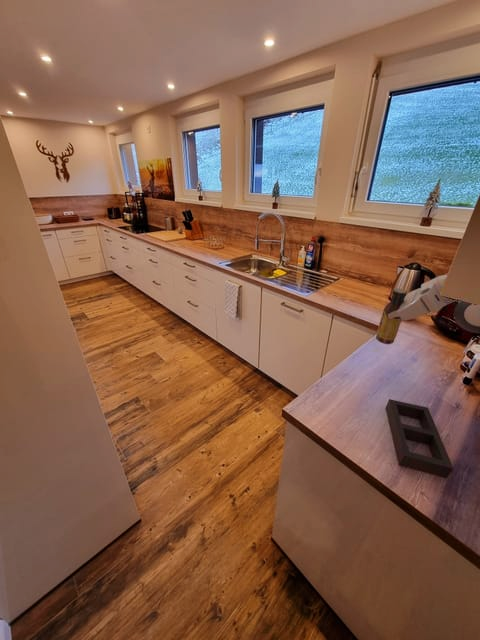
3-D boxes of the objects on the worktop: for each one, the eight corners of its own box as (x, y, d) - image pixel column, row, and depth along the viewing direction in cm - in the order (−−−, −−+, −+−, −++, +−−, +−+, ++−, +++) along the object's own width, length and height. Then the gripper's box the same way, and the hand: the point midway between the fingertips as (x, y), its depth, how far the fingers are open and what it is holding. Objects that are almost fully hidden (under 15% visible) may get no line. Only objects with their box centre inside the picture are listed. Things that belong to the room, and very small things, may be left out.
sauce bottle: (379, 334, 101) (395, 285, 92) (396, 341, 97) (414, 291, 87) (371, 339, 97) (387, 289, 88) (388, 347, 93) (406, 295, 84)
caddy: (423, 416, 80) (428, 407, 78) (446, 478, 64) (453, 468, 62) (385, 408, 83) (389, 398, 81) (398, 465, 66) (404, 455, 64)
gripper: (432, 277, 89) (392, 296, 99) (425, 295, 75) (379, 315, 85) (442, 292, 89) (401, 309, 99) (437, 313, 75) (390, 331, 85)
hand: (391, 312), depth 92 cm, fingers closed on sauce bottle, 6 cm apart
